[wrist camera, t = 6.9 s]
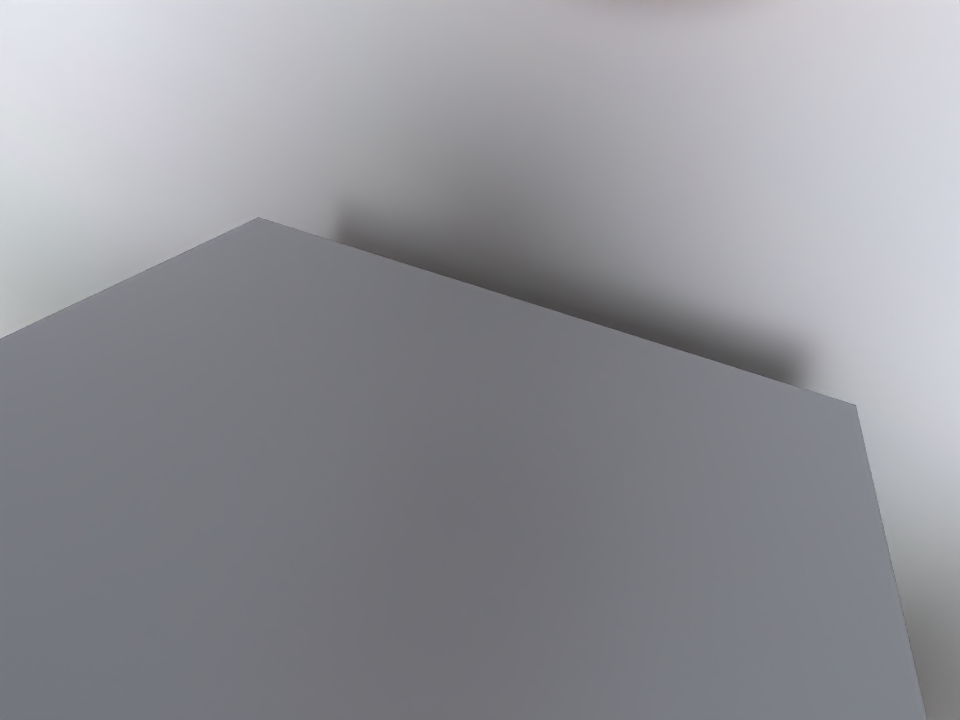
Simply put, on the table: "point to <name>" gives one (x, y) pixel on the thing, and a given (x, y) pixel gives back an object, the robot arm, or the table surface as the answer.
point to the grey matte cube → (421, 510)
